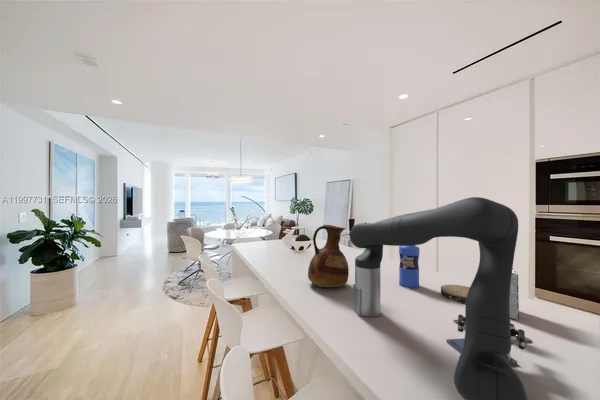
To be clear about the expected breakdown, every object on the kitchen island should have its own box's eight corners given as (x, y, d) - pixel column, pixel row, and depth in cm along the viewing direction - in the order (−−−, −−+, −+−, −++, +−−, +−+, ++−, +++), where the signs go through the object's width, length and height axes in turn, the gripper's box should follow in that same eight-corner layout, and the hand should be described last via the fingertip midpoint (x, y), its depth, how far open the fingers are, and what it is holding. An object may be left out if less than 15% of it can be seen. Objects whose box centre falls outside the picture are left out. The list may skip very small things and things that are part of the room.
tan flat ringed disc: (451, 288, 117) (451, 282, 117) (491, 300, 103) (491, 293, 103) (433, 295, 109) (433, 288, 109) (473, 308, 95) (473, 300, 95)
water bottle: (401, 281, 127) (401, 233, 127) (421, 284, 121) (421, 234, 122) (396, 286, 119) (396, 235, 119) (417, 290, 114) (417, 237, 114)
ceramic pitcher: (352, 292, 111) (352, 226, 111) (308, 291, 111) (308, 226, 111) (344, 278, 130) (345, 223, 131) (307, 278, 131) (307, 222, 131)
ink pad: (477, 367, 60) (477, 362, 60) (446, 342, 71) (446, 338, 71) (517, 364, 61) (517, 359, 61) (480, 340, 72) (480, 336, 72)
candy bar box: (496, 305, 97) (495, 264, 97) (512, 308, 94) (512, 266, 94) (501, 317, 87) (500, 271, 87) (519, 320, 85) (519, 273, 85)
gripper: (529, 340, 53) (522, 314, 66) (453, 320, 62) (460, 300, 75) (530, 374, 53) (522, 341, 66) (453, 349, 62) (460, 325, 75)
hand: (489, 320), depth 70 cm, fingers open, 8 cm apart
